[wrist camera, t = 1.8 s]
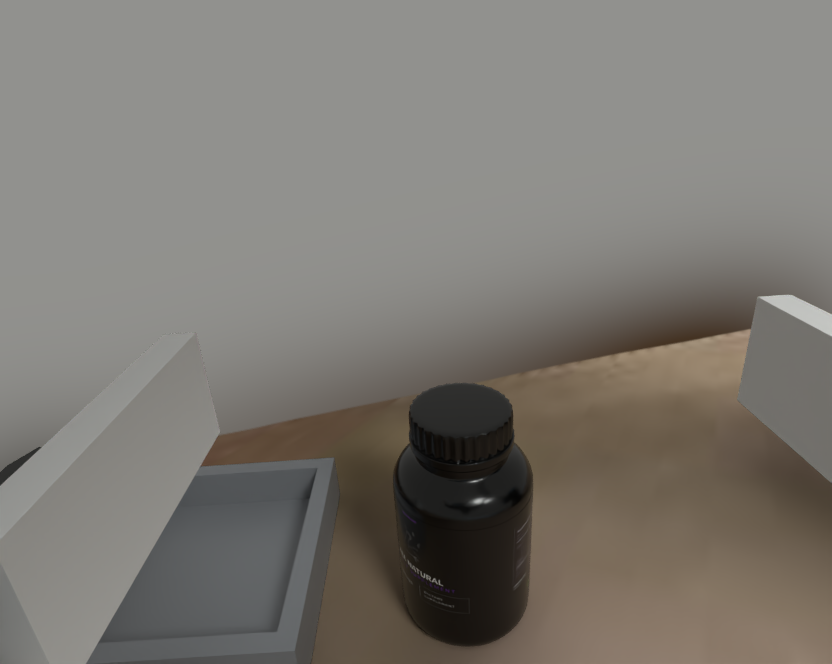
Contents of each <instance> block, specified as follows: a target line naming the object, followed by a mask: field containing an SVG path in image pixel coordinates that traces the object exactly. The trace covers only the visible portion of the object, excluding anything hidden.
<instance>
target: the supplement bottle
mask: <svg viewBox="0 0 832 664" xmlns="http://www.w3.org/2000/svg"><path fill="white" fill-rule="evenodd" d="M409 424H410V431H409V442H410V443H409V444H408V445H407V446H406V447H405V449H404V450H403V451H402V453H401V454H400V456H399V458H398V460H397V462H396V465H395V468H394V473H393V488H394V500H395V510H396V521H397V532H398V543H399V554H400V565H401V576H402V584H403V593H404V599H405V603H406V606H407V608H408V611H409V612H410V614H411V616H412V618H413V619H414V621H415V622H416V623H417V624H418V625H419V626H420V627H421V628H422V629H423V630H424V631H425V632H427V633H428V634H429V635H431V636H432V637H434V638H436V639H438V640H440V641H442V642H445V643H448V644H452V645H457V646H480V645H484V644H488V643H491V642H494V641H496V640H498V639H500V638H502V637H503V636H505V635H506V634H508V633H509V632H510V631H511V630H512V629H513V628H514V627H515V626H516V625H517V624H518V622H519V621H520V619H521V618H522V616H523V614H524V612H525V609H526V606H527V601H528V594H529V577H530V552H531V528H532V503H533V473H532V469H531V465H530V463H529V461H528V459H527V457H526V456H525V454H524V452H523V451H522V450H521V449H520V447H519V446H518V445H517V444H516V443H514V429H513V410H512V405H511V404H510V403H509V400H508V399H507V398H505V396H504V395H503V394H501V393H500V392H499V391H496V390H494V389H492V388H490V387H486V386H484V385H477V384H469V383H454V384H445V385H441V386H437V387H434V388H430V389H429V390H427V391H424V392H422V394H420V395H418V396H417V398H416V399H414V400H413V403H412V404H411V405H410V411H409Z"/></svg>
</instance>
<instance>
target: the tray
mask: <svg viewBox="0 0 832 664" xmlns="http://www.w3.org/2000/svg"><path fill="white" fill-rule="evenodd" d="M339 497H340V490H339V484H338V478H337V471H336V465H335V458H320V459H306V460H291V461H276V462H262V463H247V464H232V465H217V466H203V467H200V468H199V469H198V471H197V473H196V474H195V476H194V478H193V480H192V481H191V483H190V485H189V487H188V488H187V490H186V492H185V493H184V495H183V497H182V499H181V500H180V502H179V504H178V506H177V507H176V509H175V511H174V512H173V514H172V516H171V518H170V519H169V521H168V523H167V525H166V526H165V528H164V530H163V531H162V533H161V535H160V537H159V538H158V540H157V542H156V544H155V545H154V547H153V549H152V550H151V552H150V554H149V556H148V557H147V559H146V561H145V563H144V564H143V566H142V568H141V569H140V571H139V573H138V575H137V576H136V578H135V580H134V582H133V583H132V585H131V587H130V588H129V590H128V592H127V594H126V595H125V597H124V599H123V601H122V602H121V604H120V606H119V607H118V609H117V611H116V613H115V614H114V616H113V618H112V619H111V621H110V623H109V625H108V626H107V628H106V630H105V632H104V633H103V635H102V637H101V638H100V640H99V642H98V644H97V645H96V647H95V649H94V651H93V652H92V654H91V656H90V657H89V659H88V661H87V663H86V664H311V660H312V654H313V649H314V643H315V637H316V631H317V625H318V620H319V614H320V608H321V602H322V596H323V590H324V585H325V579H326V573H327V567H328V561H329V555H330V550H331V544H332V538H333V532H334V526H335V520H336V515H337V509H338V503H339Z"/></svg>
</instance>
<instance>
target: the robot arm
mask: <svg viewBox="0 0 832 664" xmlns="http://www.w3.org/2000/svg"><path fill="white" fill-rule="evenodd" d="M737 400H738V401H739V402H740V403H741V404H742V405H743V406H744V407H746V408H747V409H748V410H749V411H750V412H751V413H752V414H753V415H755V416H756V417H757V418H758V419H759V420H760V421H761V422H763V423H764V424H765V425H766V426H767V427H768V428H769V429H771V430H772V431H773V432H774V433H775V434H776V435H777V436H778V437H780V438H781V439H782V440H783V441H784V442H785V443H786V444H788V445H789V446H790V447H791V448H792V449H793V450H794V451H795V452H797V453H798V454H799V455H800V456H801V457H802V458H803V459H805V460H806V461H807V462H808V463H809V464H810V465H811V466H813V467H814V468H815V469H816V470H817V471H818V472H819V473H820V474H822V475H823V476H824V477H825V478H826V479H827V480H828V481H830V482H831V483H832V314H829V313H827V312H825V311H823V310H821V309H819V308H817V307H815V306H813V305H811V304H809V303H807V302H805V301H803V300H801V299H798V298H796V297H794V296H792V295H779V296H765V297H758V298H757V303H756V308H755V313H754V318H753V323H752V328H751V333H750V338H749V343H748V348H747V353H746V358H745V363H744V368H743V373H742V378H741V383H740V388H739V393H738V398H737ZM219 433H220V429H219V425H218V421H217V416H216V412H215V408H214V404H213V400H212V396H211V392H210V387H209V383H208V379H207V375H206V371H205V367H204V362H203V358H202V354H201V350H200V347H199V342H198V338H197V333H196V332H193V333H176V334H164V335H163V336H161V338H159V339H158V340H157V341H156V342H155V343H154V344H153V345H152V346H151V347H150V348H149V349H147V350H146V351H145V352H144V353H143V354H142V355H141V356H140V357H139V358H138V359H137V360H136V361H134V362H133V363H132V364H131V365H130V366H129V367H128V368H127V369H126V370H125V371H124V372H123V373H122V374H120V375H119V376H118V377H117V378H116V379H115V380H114V381H113V382H112V383H111V384H110V385H109V386H107V387H106V388H105V389H104V390H103V391H102V392H101V393H100V394H99V395H98V396H97V397H96V398H95V399H93V400H92V401H91V402H90V403H89V404H88V405H87V406H86V407H85V408H84V409H83V410H81V411H80V412H79V413H78V414H77V415H76V416H75V417H74V418H73V419H72V420H71V421H70V422H69V423H68V424H66V425H65V426H64V427H63V428H62V429H61V430H60V431H59V432H58V433H57V434H56V435H54V437H52V438H51V439H50V440H49V441H48V442H47V443H46V444H45V445H44V446H43V447H38V448H37V449H35V450H33V451H31V452H30V453H28V454H26V455H25V456H23V457H21V458H19V459H18V460H16V461H14V462H13V463H11V464H9V465H8V466H7V467H5V468H4V469H3V470H2V471H1V472H0V664H86V663H87V661H88V659H89V657H90V656H91V654H92V652H93V651H94V649H95V647H96V645H97V644H98V642H99V640H100V638H101V637H102V635H103V633H104V632H105V630H106V628H107V626H108V625H109V623H110V621H111V619H112V618H113V616H114V614H115V613H116V611H117V609H118V607H119V606H120V604H121V602H122V601H123V599H124V597H125V595H126V594H127V592H128V590H129V588H130V587H131V585H132V583H133V582H134V580H135V578H136V576H137V575H138V573H139V571H140V569H141V568H142V566H143V564H144V563H145V561H146V559H147V557H148V556H149V554H150V552H151V550H152V549H153V547H154V545H155V544H156V542H157V540H158V538H159V537H160V535H161V533H162V531H163V530H164V528H165V526H166V525H167V523H168V521H169V519H170V518H171V516H172V514H173V512H174V511H175V509H176V507H177V506H178V504H179V502H180V500H181V499H182V497H183V495H184V493H185V492H186V490H187V488H188V487H189V485H190V483H191V481H192V480H193V478H194V476H195V474H196V473H197V471H198V469H199V468H200V466H201V464H202V462H203V461H204V459H205V457H206V455H207V454H208V452H209V450H210V449H211V447H212V445H213V443H214V442H215V440H216V438H217V436H218V435H219Z"/></svg>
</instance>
